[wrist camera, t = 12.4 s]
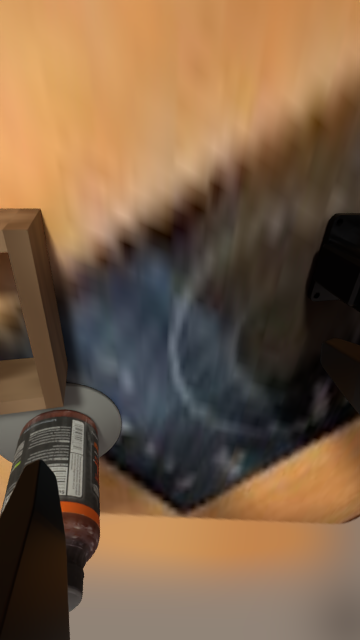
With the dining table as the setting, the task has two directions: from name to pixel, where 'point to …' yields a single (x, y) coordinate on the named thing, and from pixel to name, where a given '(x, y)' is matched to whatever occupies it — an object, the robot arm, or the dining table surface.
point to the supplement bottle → (67, 482)
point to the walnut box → (32, 318)
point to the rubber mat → (7, 428)
